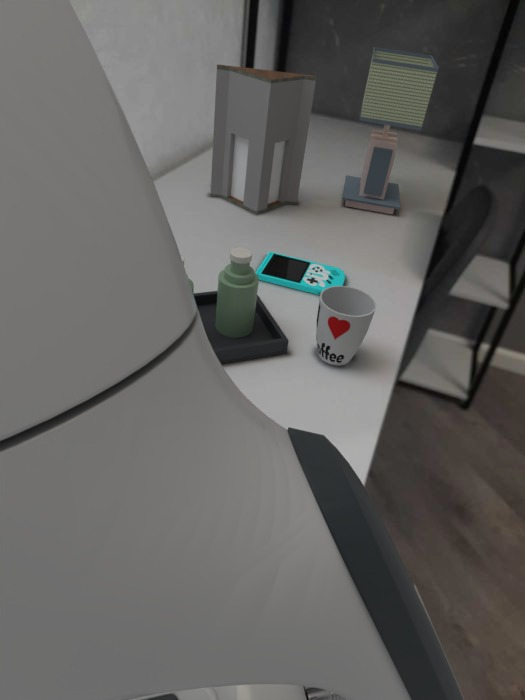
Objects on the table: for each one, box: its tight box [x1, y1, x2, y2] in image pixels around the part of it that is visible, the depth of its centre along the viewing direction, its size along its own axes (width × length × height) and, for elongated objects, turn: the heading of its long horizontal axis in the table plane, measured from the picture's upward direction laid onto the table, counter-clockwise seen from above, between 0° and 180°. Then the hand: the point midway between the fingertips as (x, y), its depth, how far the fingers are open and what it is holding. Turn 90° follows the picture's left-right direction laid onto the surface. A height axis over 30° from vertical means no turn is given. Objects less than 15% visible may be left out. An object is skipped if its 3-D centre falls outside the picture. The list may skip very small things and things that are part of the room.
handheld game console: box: [254, 251, 346, 296], centre depth 98 cm, size 10×16×1 cm, turn 73°
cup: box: [315, 285, 377, 367], centre depth 77 cm, size 8×8×10 cm
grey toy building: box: [210, 63, 317, 215], centre depth 114 cm, size 21×10×28 cm, turn 92°
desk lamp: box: [341, 46, 439, 215], centre depth 124 cm, size 18×14×33 cm
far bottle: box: [215, 246, 260, 338], centre depth 78 cm, size 6×6×13 cm
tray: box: [193, 290, 290, 365], centre depth 78 cm, size 32×16×2 cm, turn 112°
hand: (215, 540), depth 46 cm, fingers open, 8 cm apart
